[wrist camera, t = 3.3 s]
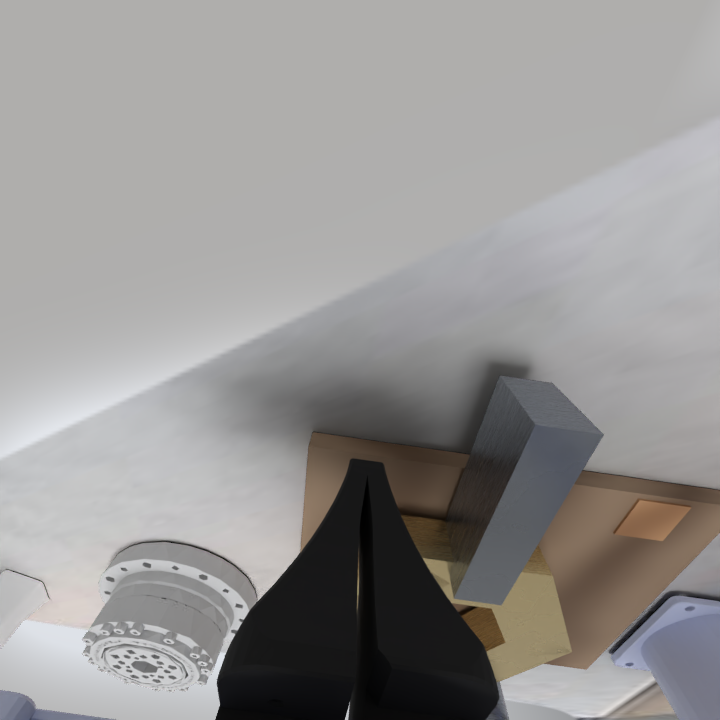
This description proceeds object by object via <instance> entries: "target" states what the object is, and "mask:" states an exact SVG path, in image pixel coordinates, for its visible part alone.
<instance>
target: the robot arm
mask: <svg viewBox="0 0 720 720" xmlns="http://www.w3.org/2000/svg"><path fill="white" fill-rule="evenodd" d="M358 551H359V594H358V608H357V586H358ZM611 659H612V661H613V663H614V664H615V665H616V666H619V667H626V668H633V669H640V670H648V671H651V673H652V674H653V676H654V678H655V680H656V681H657V683H658V685H659V686H660V688H661V690H662V691H663V693H664V695H665V697H666V698H667V700H668V702H669V703H670V705H671V707H672V708H673V710H674V712H675V714H676V715H677V717H678V719H679V720H720V601H714V600H707V599H700V598H693V597H686V596H673V597H670V598H669V599H668V600H667V601H666V602H665V603H664V604H663V605H662V606H661V607H660V608H659V609H658V610H657V611H656V612H655V613H654V614H653V615H652V616H651V617H650V618H649V619H648V620H647V621H646V622H645V623H644V624H643V625H642V626H641V627H640V628H639V629H638V630H637V631H636V632H635V633H634V634H633V635H632V636H631V637H630V638H629V639H628V640H627V641H625V642H624V643H623V644H622V645H621V646H620V647H619V648H618V649H617V650H616V651H615V652H614V653H613V654H612V656H611ZM217 687H218V694H219V700H220V707H219V710H218V713H217V716H216V719H215V720H345V717H346V713H347V710H348V706H349V702H350V709H349V719H348V720H486V719H487V717H488V716H489V715H490V713H491V712H492V711H493V710H494V708H495V707H496V705H497V703H498V701H499V698H500V697H499V691H498V687H497V682H496V679H495V675H494V672H493V669H492V666H491V663H490V660H489V658H488V655H487V652H486V650H485V647H484V645H483V643H482V642H481V641H480V640H479V638H478V637H477V636H476V635H475V633H474V632H473V631H472V630H471V628H470V627H469V626H468V624H467V623H466V622H465V621H464V619H463V618H462V617H461V615H460V614H459V613H458V611H457V610H456V608H455V607H454V606H453V604H452V603H451V602H450V600H449V599H448V597H447V596H446V594H445V593H444V591H443V590H442V588H441V587H440V585H439V584H438V582H437V581H436V579H435V578H434V576H433V575H432V573H431V572H430V570H429V568H428V567H427V565H426V563H425V561H424V560H423V558H422V556H421V555H420V553H419V551H418V549H417V547H416V545H415V544H414V542H413V540H412V538H411V536H410V534H409V532H408V530H407V527H406V525H405V523H404V521H403V519H402V516H401V514H400V512H399V509H398V507H397V504H396V502H395V499H394V496H393V494H392V491H391V488H390V485H389V482H388V478H387V475H386V471H385V466H384V464H383V463H382V462H376V461H369V460H362V459H355V458H352V459H351V460H350V461H349V466H348V470H347V473H346V476H345V478H344V481H343V483H342V485H341V487H340V489H339V492H338V494H337V496H336V498H335V500H334V502H333V503H332V505H331V507H330V509H329V510H328V512H327V514H326V516H325V517H324V519H323V521H322V522H321V524H320V525H319V527H318V528H317V530H316V531H315V533H314V534H313V536H312V537H311V539H310V540H309V542H308V543H307V544H306V546H305V547H304V548H303V550H302V551H301V552H300V554H299V555H298V556H297V558H296V559H295V560H294V561H293V563H292V564H291V565H290V566H289V567H288V569H287V570H286V571H285V572H284V573H283V574H282V576H281V577H280V578H279V579H278V580H277V582H276V583H275V584H274V585H273V586H272V587H271V588H270V589H269V590H268V591H267V592H266V593H265V594H264V595H263V597H262V598H261V599H260V600H259V601H258V602H257V603H256V604H255V605H254V606H253V607H252V608H251V609H250V611H249V612H248V614H247V615H246V617H245V619H244V620H243V622H242V624H241V625H240V627H239V629H238V631H237V632H236V634H235V636H234V638H233V640H232V642H231V644H230V646H229V648H228V650H227V653H226V655H225V658H224V661H223V664H222V667H221V670H220V672H219V675H218V679H217ZM0 720H114V719H107V718H100V717H92V716H85V715H78V714H71V713H64V712H57V711H49V710H42V709H36V706H35V703H34V702H33V700H32V699H31V698H29V697H28V696H25V695H23V694H20V693H16V692H10V691H3V690H0Z"/></svg>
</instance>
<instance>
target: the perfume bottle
mask: <svg viewBox="0 0 720 720" xmlns="http://www.w3.org/2000/svg"><path fill="white" fill-rule="evenodd" d="M48 600H49V598H48V595H47V592H46V590H45V587H44V584H43V583H42V582H41V581H38V580H35V579H32V578H30V577H27V576H24V575H21V574H18V573H15V572H12V571H10V570H5V571H3V572H2V573H1V574H0V650H1V649H2V647H3V646H4V645H5V643H6V642H7V641H8V640H9V638H10V637H11V636H12V635H13V633H14V632H15V631H16V630H17V628H18V627H19V626H20V624H21V623H22V622H23V621H24V620H25V619H27V618H28V617H29V616H30V615H31V614H33V613H34V612H35V611H36V610H37V609H39V608H40V607H41V606H42V605H43V604H45V603H46V602H47V601H48Z"/></svg>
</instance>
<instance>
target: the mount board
mask: <svg viewBox="0 0 720 720" xmlns="http://www.w3.org/2000/svg"><path fill="white" fill-rule="evenodd" d="M469 456H470V455H469V454H462V453H455V452H449V451H442V450H435V449H428V448H421V447H414V446H407V445H400V444H393V443H386V442H379V441H372V440H365V439H358V438H351V437H344V436H337V435H330V434H323V433H316V432H313V433H312V436H311V440H310V443H309V447H308V460H307V473H306V486H305V499H304V512H303V525H302V538H301V551H302V550H303V548H304V547H305V546H306V544H307V543H308V542H309V540H310V539H311V537H312V536H313V534H314V533H315V531H316V530H317V528H318V527H319V525H320V524H321V522H322V521H323V519H324V517H325V516H326V514H327V512H328V510H329V509H330V507H331V505H332V503H333V502H334V500H335V498H336V496H337V494H338V492H339V489H340V487H341V485H342V483H343V481H344V478H345V476H346V473H347V470H348V466H349V461H350V460H351V459H352V458H355V459H362V460H369V461H376V462H382V463H383V464H384V466H385V471H386V475H387V478H388V482H389V485H390V488H391V491H392V494H393V496H394V499H395V502H396V504H397V507H398V509H399V512H400V514H401V515H406V516H413V517H421V518H428V519H435V520H442V521H445V520H446V517H447V514H448V512H449V509H450V506H451V504H452V501H453V498H454V496H455V493H456V490H457V488H458V485H459V482H460V480H461V477H462V474H463V472H464V469H465V466H466V464H467V461H468V458H469ZM719 533H720V490H714V489H707V488H700V487H693V486H686V485H679V484H672V483H665V482H658V481H651V480H644V479H637V478H630V477H623V476H616V475H609V474H602V473H595V472H588V471H582V472H581V474H580V475H579V477H578V479H577V480H576V482H575V484H574V485H573V487H572V489H571V490H570V492H569V494H568V495H567V497H566V499H565V500H564V502H563V504H562V505H561V507H560V509H559V510H558V512H557V514H556V515H555V517H554V519H553V520H552V522H551V524H550V525H549V527H548V529H547V530H546V532H545V534H544V535H543V537H542V539H541V540H540V542H539V544H538V546H539V548H540V550H541V552H542V554H543V556H544V558H545V560H546V563H547V565H548V567H549V569H550V571H551V573H552V575H553V578H554V582H555V586H556V590H557V594H558V598H559V602H560V606H561V610H562V614H563V618H564V622H565V626H566V630H567V634H568V637H569V641H570V645H571V649H572V652H571V653H569V654H566V655H564V656H561V657H559V658H556V659H554V660H551V661H549V662H546V663H544V664H551V665H558V666H565V667H572V668H579V669H587V668H588V667H589V666H590V665H591V664H592V663H593V662H594V661H595V660H596V659H597V658H598V657H599V656H600V655H601V654H602V653H603V652H604V651H605V650H606V649H607V648H608V647H609V646H610V645H611V644H612V643H613V642H614V641H615V640H616V639H617V638H618V637H619V636H620V635H621V633H622V632H623V631H624V630H625V629H626V628H627V627H628V626H629V625H630V624H631V623H632V622H633V621H634V620H635V619H636V618H637V617H638V616H639V615H640V614H641V613H642V612H643V611H644V610H645V609H646V608H647V607H648V606H649V605H650V604H651V603H652V602H653V601H654V600H655V599H656V598H657V596H658V595H659V594H660V593H661V592H662V591H663V590H664V589H665V588H666V587H667V586H668V585H669V584H670V583H671V582H672V581H673V580H674V579H675V578H676V577H677V576H678V575H679V574H680V573H681V572H682V571H683V570H684V569H685V568H686V567H687V566H688V565H689V564H690V563H691V562H692V561H693V560H694V558H695V557H696V556H697V555H698V554H699V553H700V552H701V551H702V550H703V549H704V548H705V547H706V546H707V545H708V544H709V543H710V542H711V541H712V540H713V539H714V538H715V537H716V536H717V535H718V534H719ZM301 551H300V552H301ZM452 604H453V606H454V607H455V608H456V610H457V611H458V613H459V614H460V615H461V616H462V615H464V614H466V613H468V612H470V611H472V610H474V609H475V608H477V607H476V606H469V605H462V604H455V603H452Z"/></svg>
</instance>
